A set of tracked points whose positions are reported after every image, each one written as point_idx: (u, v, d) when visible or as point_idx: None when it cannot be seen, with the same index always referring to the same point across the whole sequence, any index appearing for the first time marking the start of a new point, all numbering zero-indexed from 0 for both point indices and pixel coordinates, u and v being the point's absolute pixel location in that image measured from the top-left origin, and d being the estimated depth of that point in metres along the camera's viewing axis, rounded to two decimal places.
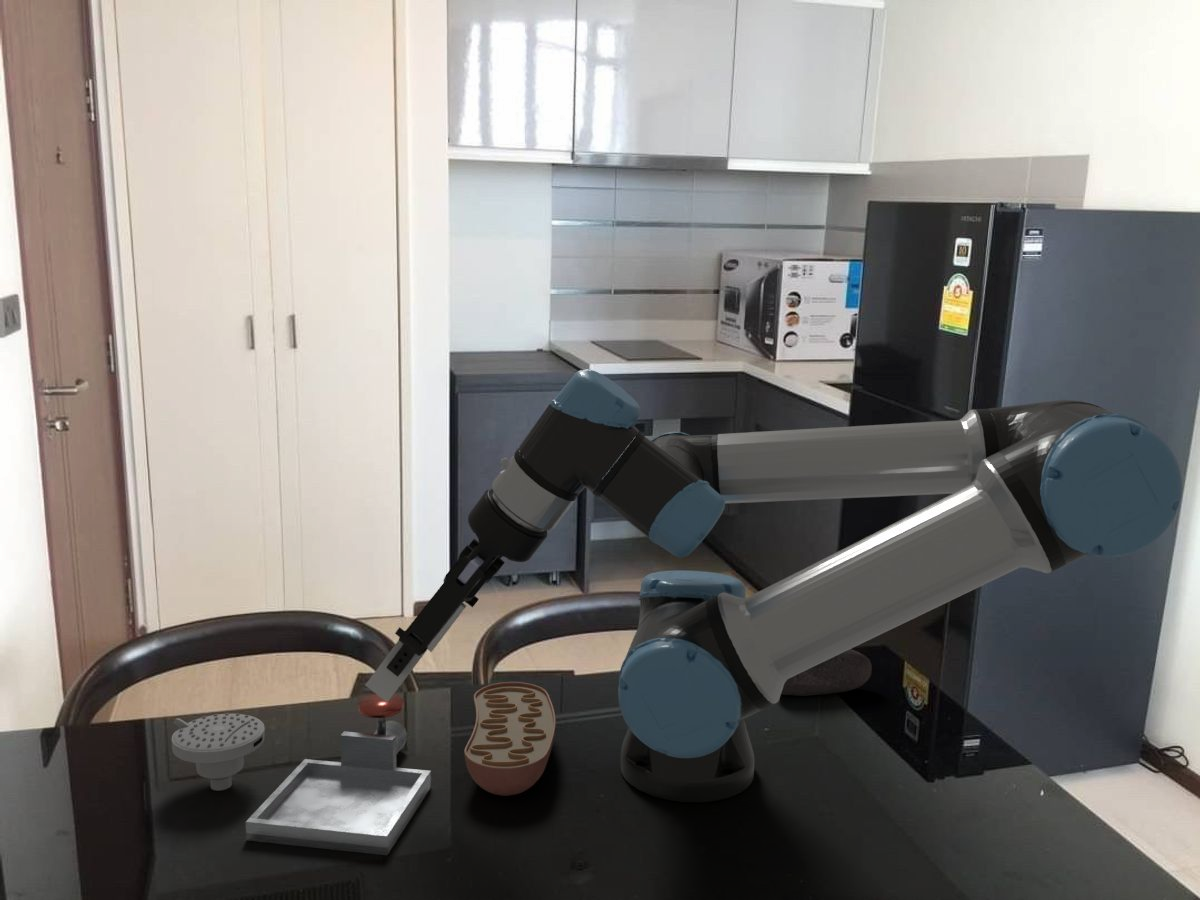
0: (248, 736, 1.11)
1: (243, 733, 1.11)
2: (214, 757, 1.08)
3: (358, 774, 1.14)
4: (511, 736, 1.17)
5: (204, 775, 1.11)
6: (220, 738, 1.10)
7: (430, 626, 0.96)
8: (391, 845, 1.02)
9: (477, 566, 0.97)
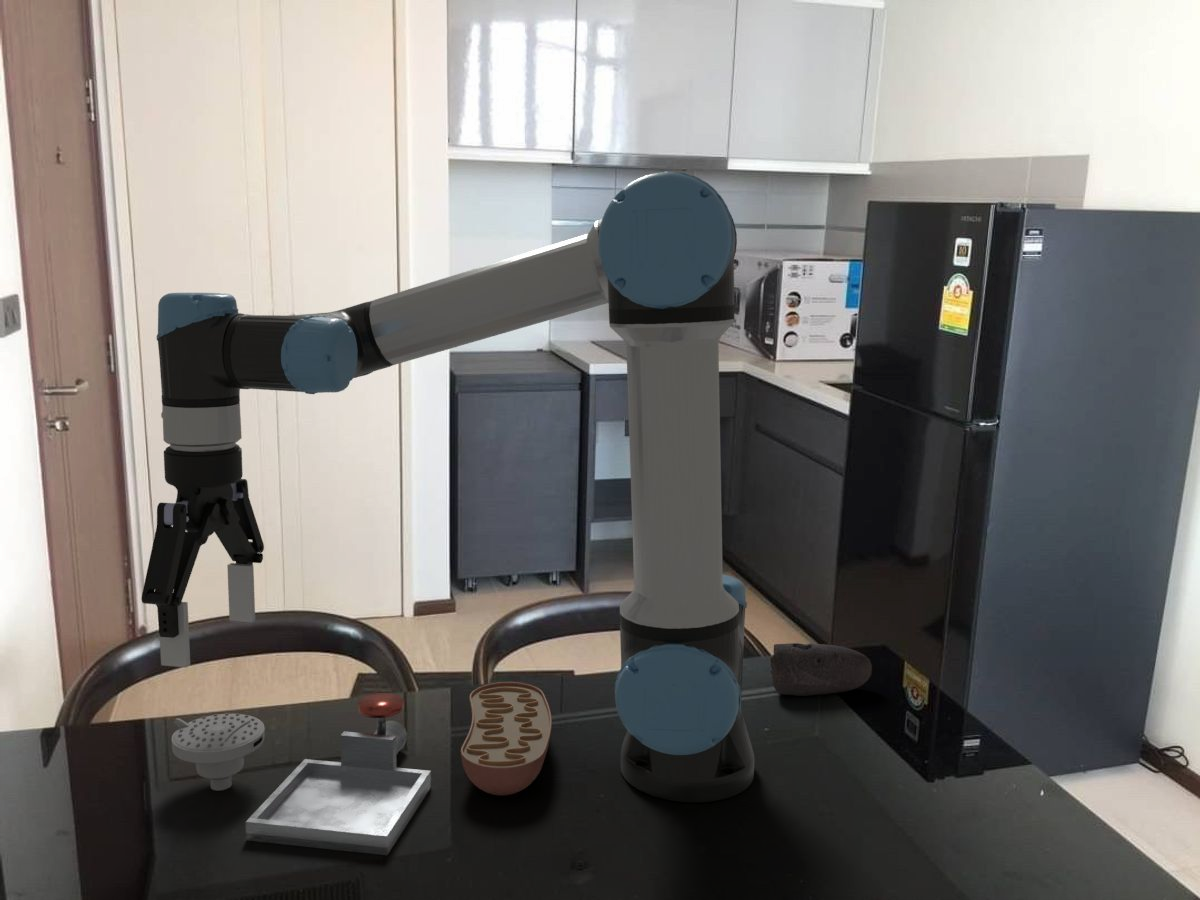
0: (248, 736, 1.11)
1: (243, 733, 1.11)
2: (214, 757, 1.08)
3: (358, 774, 1.14)
4: (507, 736, 1.17)
5: (204, 775, 1.11)
6: (220, 738, 1.10)
7: (161, 575, 1.00)
8: (391, 845, 1.02)
9: (174, 504, 1.02)
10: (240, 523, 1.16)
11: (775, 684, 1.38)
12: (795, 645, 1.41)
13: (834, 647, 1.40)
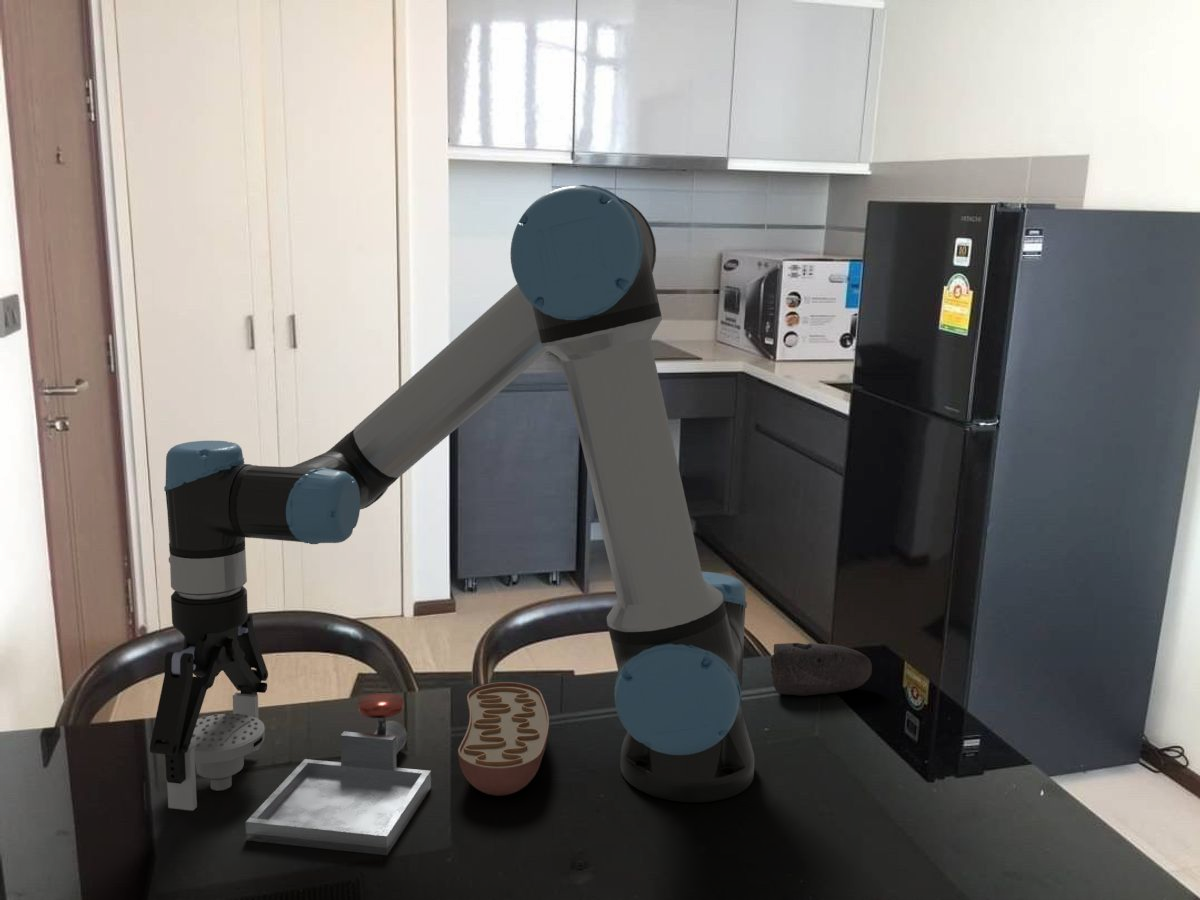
0: (248, 736, 1.11)
1: (243, 733, 1.11)
2: (214, 757, 1.08)
3: (358, 774, 1.14)
4: (505, 736, 1.17)
5: (204, 775, 1.11)
6: (220, 738, 1.10)
7: (169, 725, 1.03)
8: (391, 845, 1.02)
9: (181, 654, 1.04)
10: (245, 654, 1.18)
11: (775, 684, 1.38)
12: (795, 645, 1.41)
13: (834, 647, 1.40)
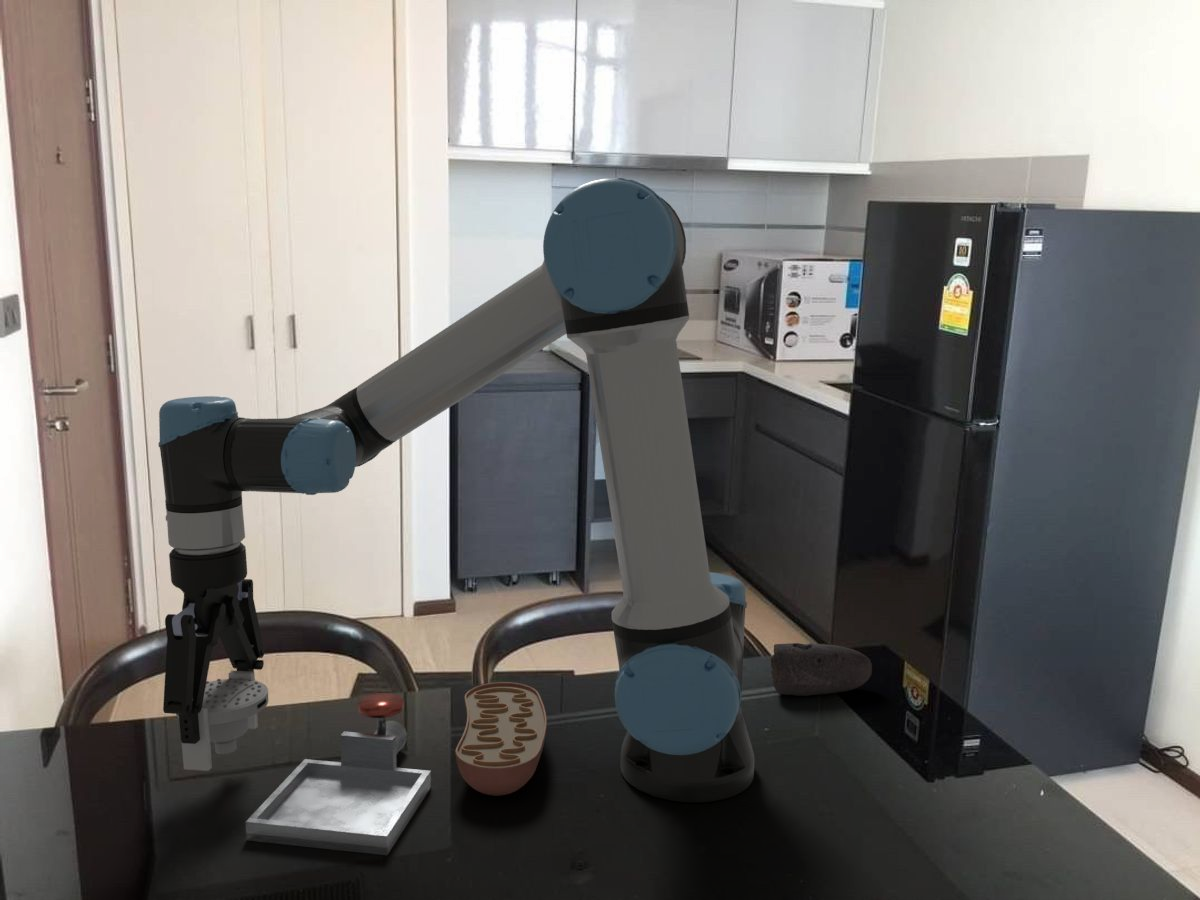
0: (252, 697, 1.10)
1: (247, 695, 1.10)
2: (218, 718, 1.07)
3: (358, 774, 1.14)
4: (502, 736, 1.17)
5: None
6: (223, 700, 1.09)
7: (179, 687, 1.03)
8: (391, 845, 1.02)
9: (181, 616, 1.03)
10: (243, 625, 1.17)
11: (775, 684, 1.38)
12: (795, 645, 1.41)
13: (834, 647, 1.40)
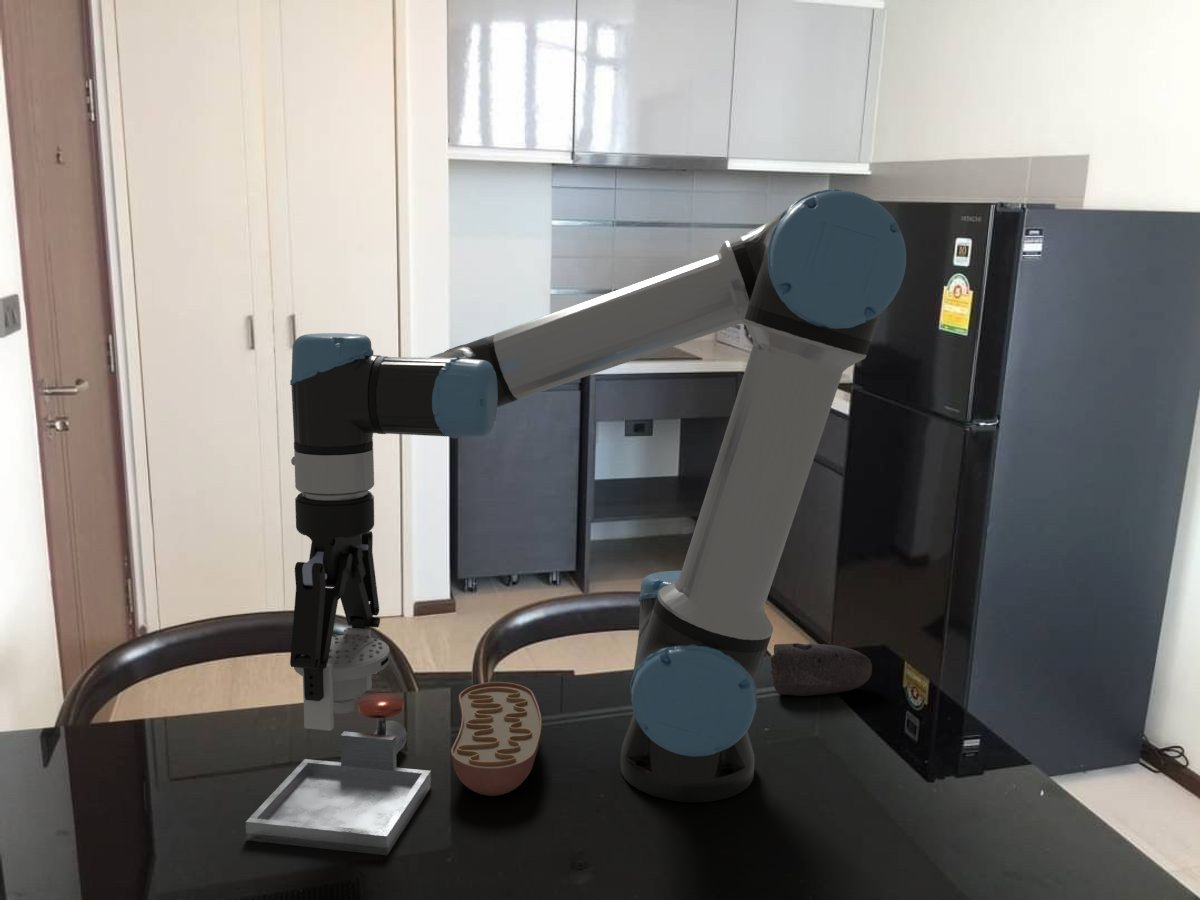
0: (375, 654, 1.04)
1: (369, 652, 1.04)
2: (342, 674, 1.01)
3: (358, 774, 1.14)
4: (497, 736, 1.17)
5: None
6: (347, 656, 1.02)
7: (307, 639, 0.97)
8: (391, 845, 1.02)
9: (311, 564, 0.97)
10: None
11: (775, 684, 1.38)
12: (795, 645, 1.41)
13: (834, 647, 1.40)
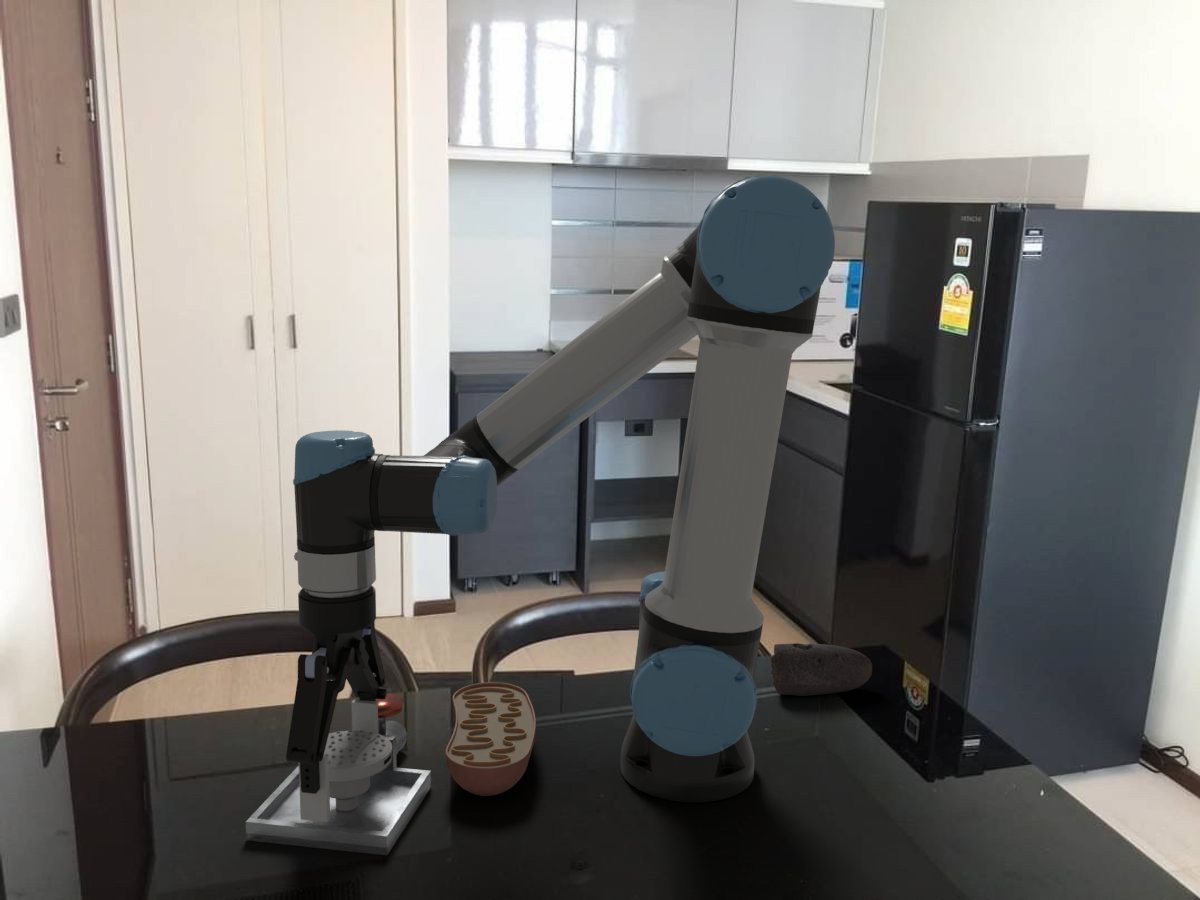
0: (378, 753, 1.06)
1: (372, 751, 1.06)
2: (346, 775, 1.03)
3: None
4: (492, 736, 1.17)
5: (332, 795, 1.05)
6: (350, 755, 1.04)
7: (305, 732, 0.97)
8: (391, 845, 1.02)
9: (315, 656, 0.98)
10: None
11: (776, 684, 1.38)
12: (796, 645, 1.41)
13: (834, 647, 1.40)
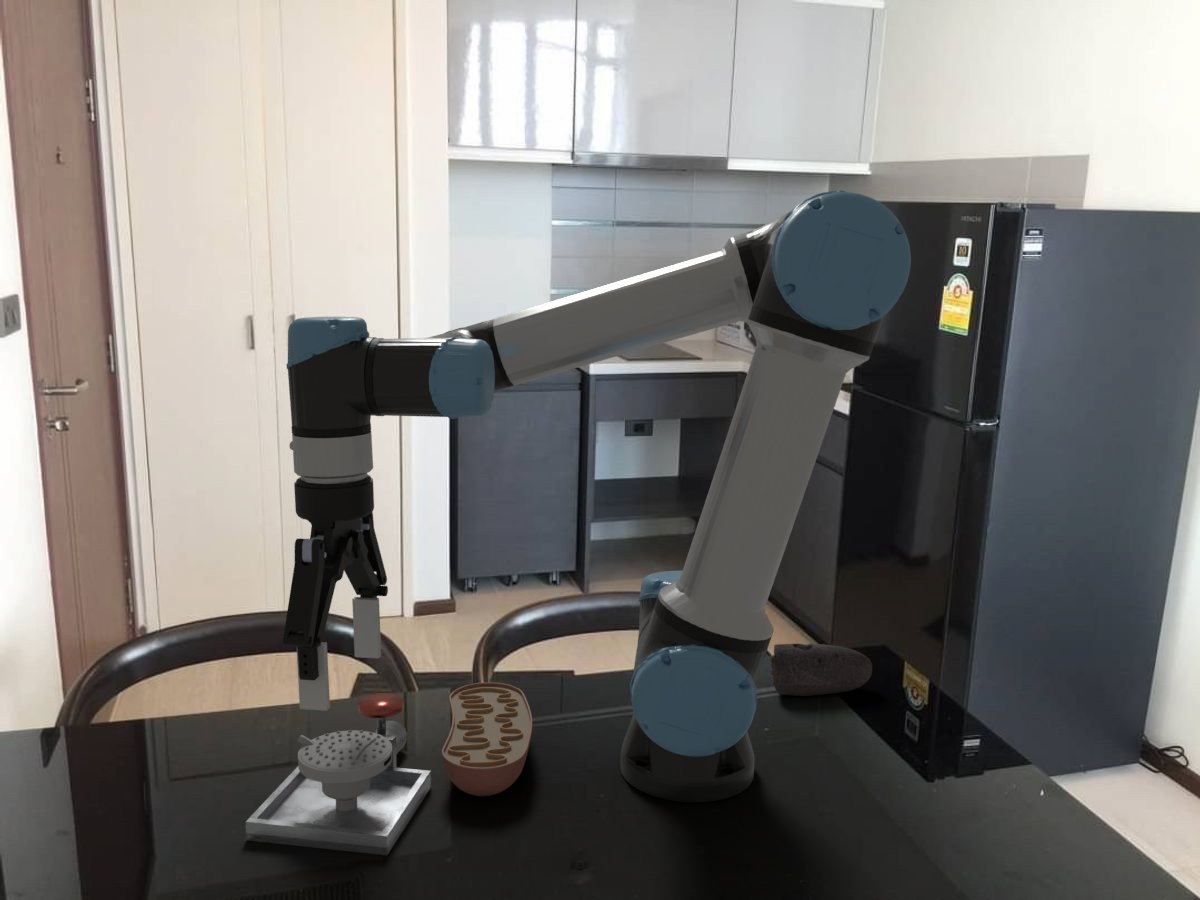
0: (378, 754, 1.05)
1: (372, 752, 1.06)
2: (346, 777, 1.02)
3: None
4: (488, 736, 1.17)
5: (332, 795, 1.05)
6: (350, 757, 1.04)
7: (303, 615, 0.95)
8: (391, 845, 1.02)
9: (312, 540, 0.97)
10: None
11: (776, 684, 1.38)
12: (796, 645, 1.41)
13: (834, 647, 1.40)
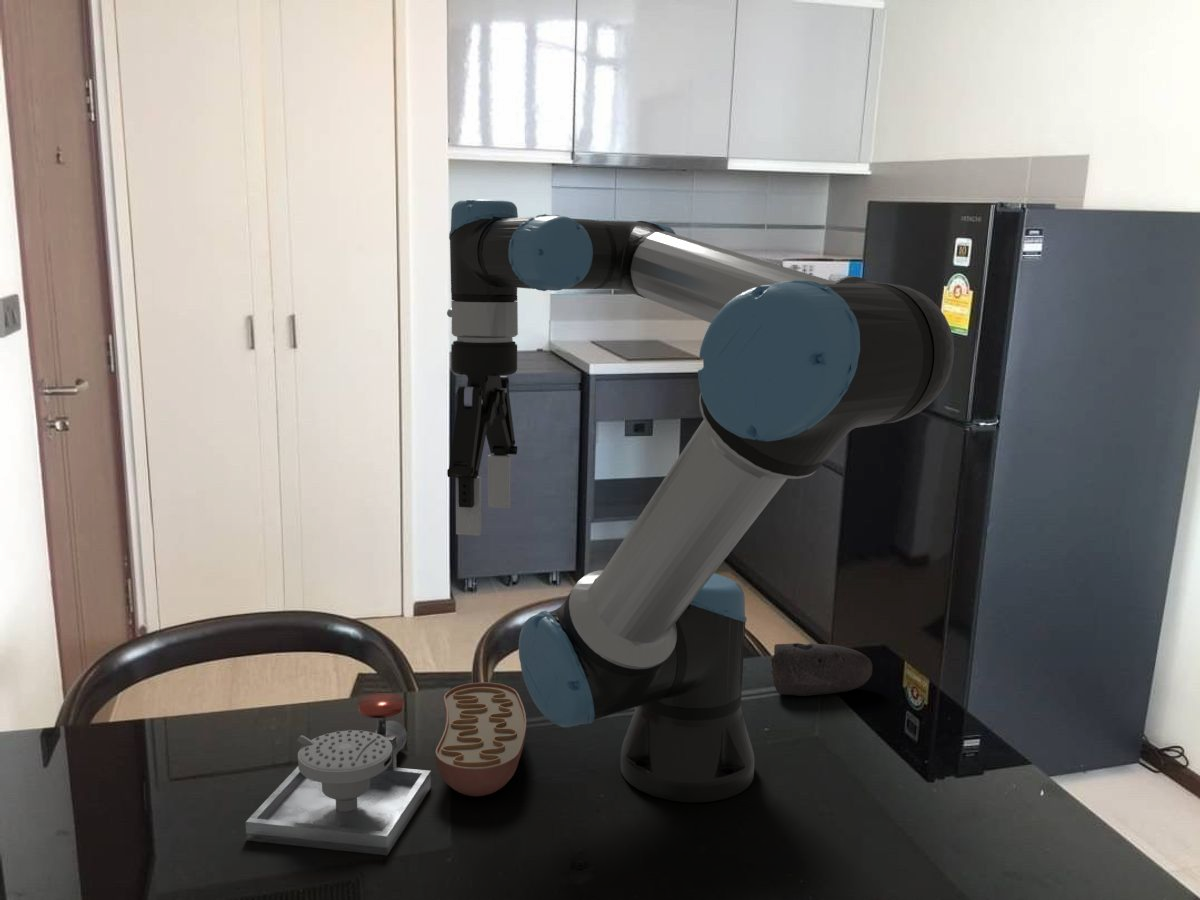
0: (378, 754, 1.05)
1: (373, 752, 1.06)
2: (346, 777, 1.02)
3: None
4: (482, 736, 1.17)
5: (332, 796, 1.05)
6: (350, 757, 1.04)
7: (465, 449, 1.12)
8: (391, 845, 1.02)
9: (472, 387, 1.14)
10: None
11: (776, 684, 1.38)
12: (796, 645, 1.41)
13: (835, 647, 1.40)
